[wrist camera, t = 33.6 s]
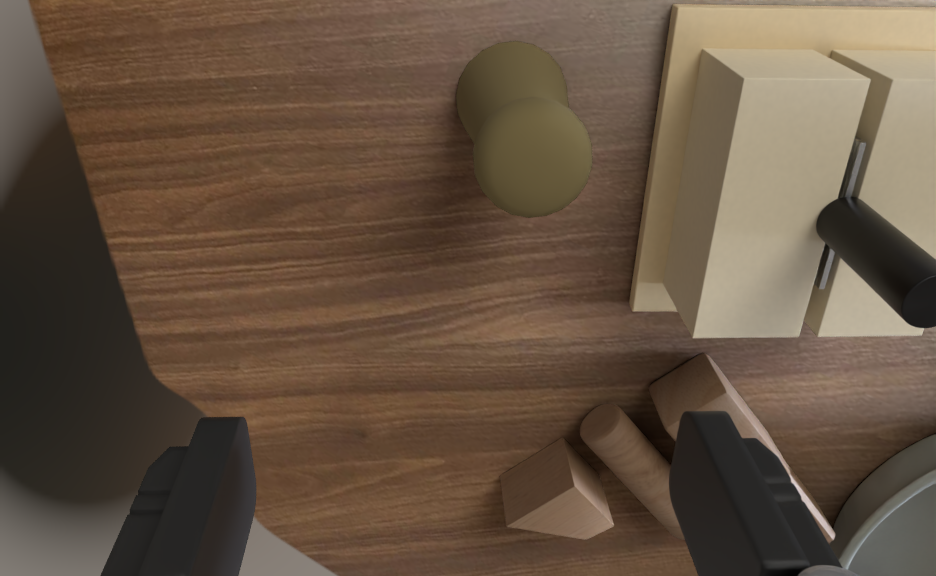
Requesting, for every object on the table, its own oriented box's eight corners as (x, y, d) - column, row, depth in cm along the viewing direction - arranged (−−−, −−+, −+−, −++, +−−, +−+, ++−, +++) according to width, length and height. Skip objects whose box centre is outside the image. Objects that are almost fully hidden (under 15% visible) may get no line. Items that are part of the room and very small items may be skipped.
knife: (785, 105, 41) (934, 212, 29) (832, 106, 42) (1000, 212, 29) (754, 239, 45) (875, 381, 33) (797, 239, 46) (933, 380, 33)
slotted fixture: (671, 3, 39) (717, 31, 33) (972, 7, 40) (1069, 35, 34) (628, 304, 48) (657, 369, 42) (874, 302, 49) (938, 365, 43)
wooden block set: (727, 391, 45) (851, 551, 53) (697, 338, 50) (814, 492, 58) (497, 528, 50) (642, 657, 57) (490, 467, 55) (624, 593, 62)
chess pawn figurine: (506, 16, 39) (531, 69, 30) (590, 89, 41) (639, 161, 32) (433, 107, 42) (435, 184, 32) (516, 172, 44) (542, 263, 34)
